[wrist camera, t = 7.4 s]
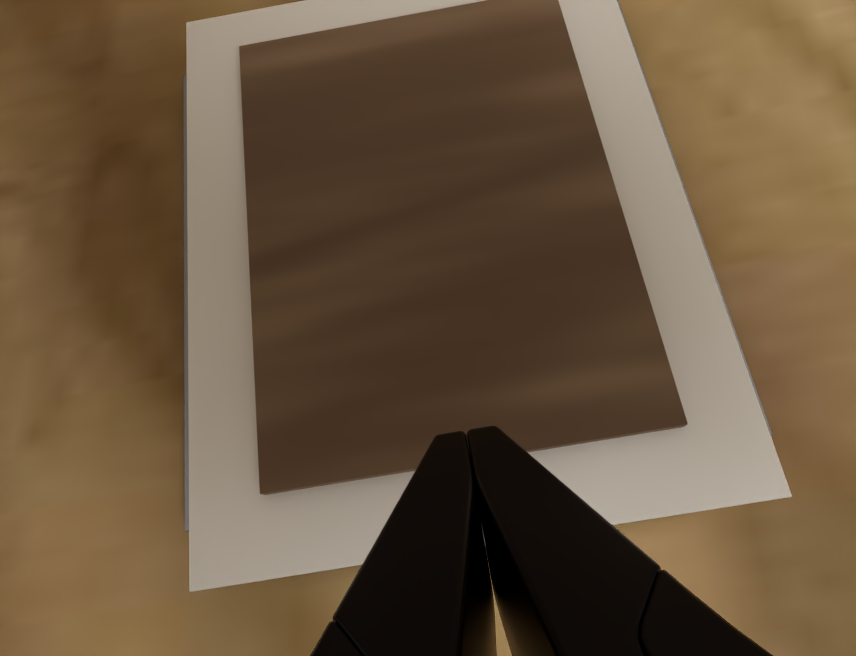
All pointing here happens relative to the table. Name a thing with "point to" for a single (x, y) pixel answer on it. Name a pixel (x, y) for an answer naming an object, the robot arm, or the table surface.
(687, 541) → the table surface
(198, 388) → the picture frame
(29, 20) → the table surface
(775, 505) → the table surface
